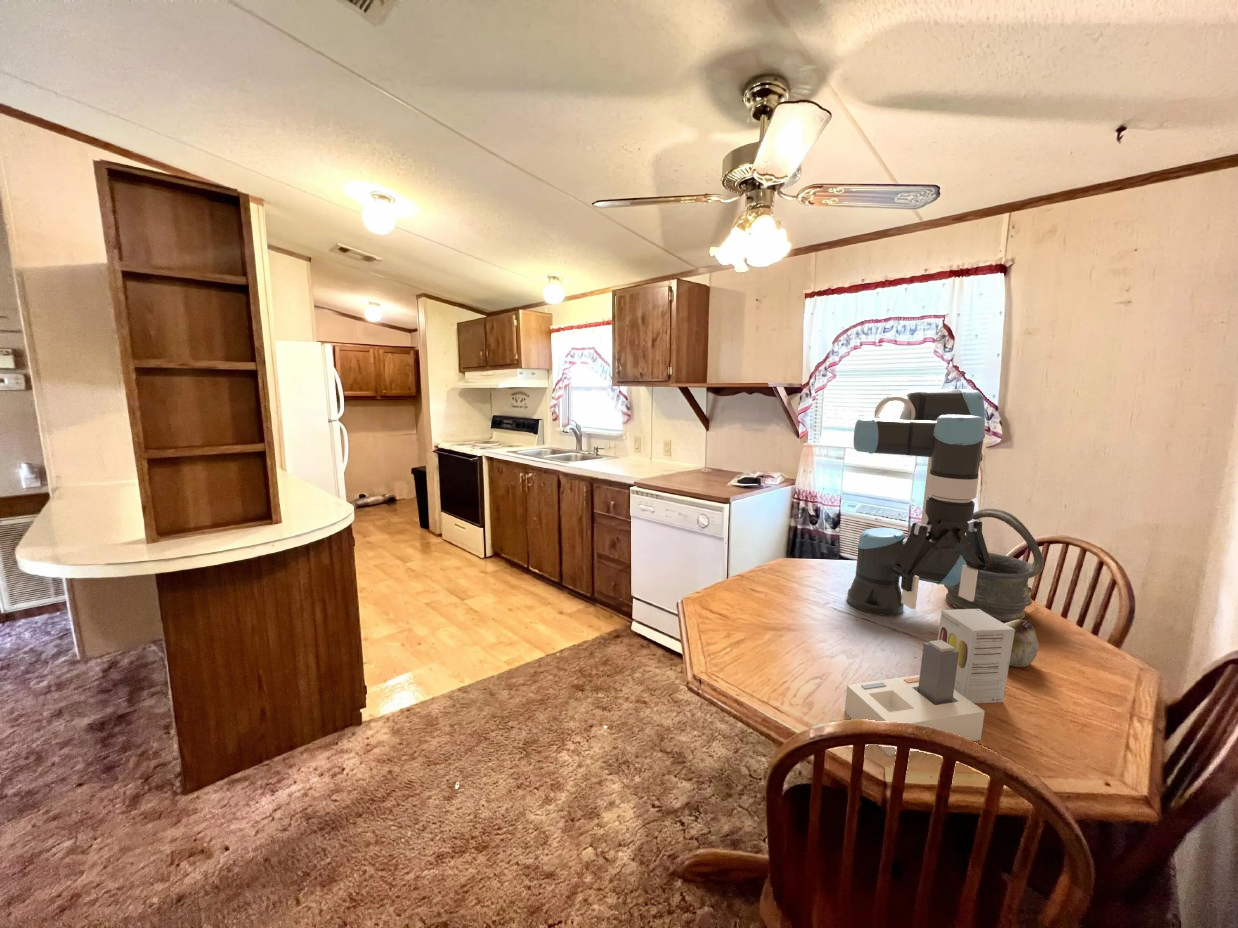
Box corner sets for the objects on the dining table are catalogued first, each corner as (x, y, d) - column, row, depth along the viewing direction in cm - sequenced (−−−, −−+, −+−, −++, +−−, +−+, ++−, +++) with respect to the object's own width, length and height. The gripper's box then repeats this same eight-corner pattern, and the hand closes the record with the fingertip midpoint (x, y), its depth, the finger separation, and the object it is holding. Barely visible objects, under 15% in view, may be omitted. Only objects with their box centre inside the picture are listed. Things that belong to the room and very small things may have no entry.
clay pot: (968, 586, 158) (980, 498, 153) (1051, 618, 137) (1068, 517, 132) (920, 596, 151) (931, 504, 146) (1001, 632, 129) (1016, 525, 124)
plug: (933, 700, 96) (941, 637, 94) (950, 713, 92) (959, 648, 90) (916, 702, 96) (924, 639, 93) (933, 716, 92) (941, 651, 89)
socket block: (926, 698, 102) (929, 671, 101) (980, 739, 90) (984, 710, 89) (843, 710, 98) (846, 683, 96) (888, 755, 86) (892, 725, 85)
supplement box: (930, 677, 109) (939, 608, 106) (968, 675, 110) (978, 607, 107) (964, 705, 99) (974, 630, 97) (1005, 703, 100) (1016, 628, 97)
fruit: (1021, 677, 109) (1029, 629, 107) (975, 657, 117) (982, 611, 115) (1043, 666, 114) (1050, 619, 112) (997, 646, 122) (1003, 602, 120)
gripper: (985, 489, 96) (971, 587, 100) (879, 496, 91) (869, 599, 95) (1023, 498, 89) (1007, 603, 93) (910, 506, 84) (898, 618, 88)
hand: (937, 602), depth 94 cm, fingers open, 13 cm apart
